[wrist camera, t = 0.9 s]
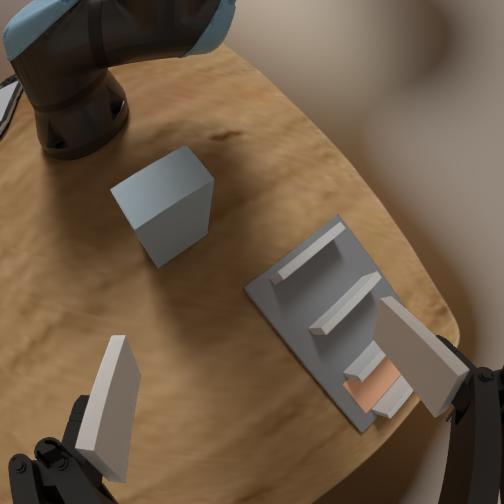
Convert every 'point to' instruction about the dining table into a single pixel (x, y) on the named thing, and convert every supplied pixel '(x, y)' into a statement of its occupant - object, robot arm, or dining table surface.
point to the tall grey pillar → (168, 204)
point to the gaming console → (8, 100)
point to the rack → (334, 320)
